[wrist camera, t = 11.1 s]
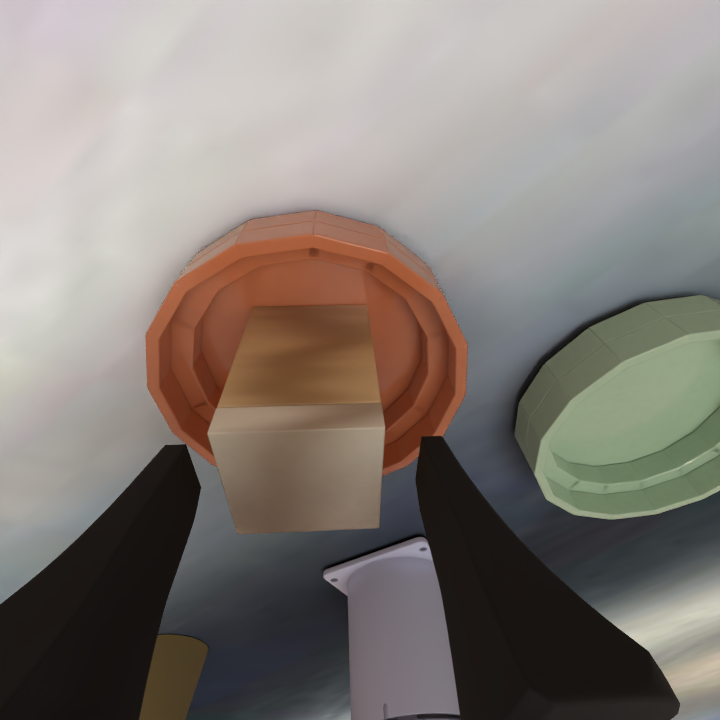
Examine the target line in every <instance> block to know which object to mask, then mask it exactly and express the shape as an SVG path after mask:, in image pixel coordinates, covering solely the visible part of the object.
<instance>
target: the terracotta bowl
mask: <svg viewBox="0 0 720 720" xmlns="http://www.w3.org/2000/svg"><path fill="white" fill-rule="evenodd" d="M321 305H367V307H368V314H369V321H370V328H371V335H372V341H373V348H374V355H375V362H376V369H377V376H378V382H379V389H380V396H381V404H382V409H383V415H384V422H385V441H384V457H383V473H382V476H384V475H386V474H389V473H391V472H394V471H396V470H398V469H401V468H403V467H406V466H407V465H409V464H410V463H411V462H412V461H413V460H415V459H416V458H417V457H418V456H419V450H420V443H421V436H441V437H442V436H443V435H444V433H445V432H446V430H447V428H448V426H449V424H450V422H451V421H452V419H453V417H454V415H455V413H456V412H457V410H458V408H459V406H460V404H461V402H462V401H463V399H464V397H465V394H466V379H467V354H468V345H467V342H466V340H465V338H464V336H463V334H462V332H461V330H460V328H459V326H458V324H457V322H456V319H455V317H454V315H453V313H452V311H451V309H450V307H449V305H448V303H447V301H446V299H445V297H444V295H443V293H442V291H441V289H440V287H439V285H438V283H437V281H436V279H435V277H434V275H433V273H432V271H431V269H430V267H429V266H428V265H427V264H426V263H425V262H424V261H423V260H421V259H420V258H419V257H417V256H416V255H415V254H414V253H412V252H411V251H410V250H409V249H407V248H406V247H405V246H404V245H402V244H401V243H400V242H399V241H397V240H396V239H395V238H393V237H392V236H391V235H390V234H388V233H387V232H386V231H385V230H383V229H381V228H380V227H378V226H374V225H370V224H367V223H363V222H359V221H355V220H352V219H348V218H344V217H340V216H336V215H333V214H329V213H325V212H321V211H318V210H317V211H307V212H300V213H293V214H286V215H279V216H272V217H265V218H258V219H251V220H249V221H246V222H245V223H243V224H242V225H240V226H239V227H237V228H236V229H234V230H232V231H231V232H229V233H228V234H226V235H225V236H223V237H222V238H220V239H219V240H217V241H215V242H214V243H212V244H211V245H209V246H208V247H206V248H205V249H203V250H201V251H200V252H198V254H197V255H195V257H194V258H193V259H192V261H191V262H190V263H189V264H188V266H187V267H186V268H185V269H184V271H183V272H182V273H181V275H180V276H179V277H178V278H177V280H176V281H175V282H174V284H173V286H172V287H171V289H170V291H169V293H168V295H167V296H166V298H165V300H164V302H163V304H162V305H161V307H160V309H159V311H158V313H157V314H156V316H155V318H154V320H153V322H152V323H151V325H150V327H149V329H148V331H147V332H146V364H147V387H148V390H149V392H150V394H151V395H152V397H153V399H154V401H155V402H156V404H157V406H158V408H159V410H160V411H161V413H162V415H163V417H164V418H165V420H166V422H167V424H168V426H169V427H170V429H171V431H172V432H173V433H174V434H175V435H176V436H177V437H179V438H180V439H181V440H182V441H183V442H185V443H186V444H187V445H188V446H190V447H191V448H192V449H193V450H195V451H196V452H197V453H198V454H199V455H201V456H202V457H203V458H204V459H206V460H207V461H208V462H209V463H211V464H212V465H214V466H216V467H217V464H216V461H215V458H214V454H213V451H212V448H211V444H210V441H209V438H208V434H207V433H208V430H209V427H210V424H211V422H212V419H213V416H214V413H215V410H216V408H217V406H218V403H219V400H220V398H221V395H222V392H223V389H224V386H225V383H226V381H227V378H228V375H229V372H230V369H231V367H232V364H233V361H234V358H235V355H236V352H237V350H238V347H239V344H240V341H241V338H242V336H243V333H244V330H245V327H246V324H247V322H248V319H249V316H250V313H251V310H252V307H265V306H321Z"/></svg>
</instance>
